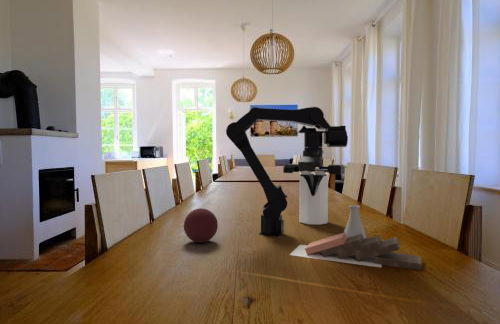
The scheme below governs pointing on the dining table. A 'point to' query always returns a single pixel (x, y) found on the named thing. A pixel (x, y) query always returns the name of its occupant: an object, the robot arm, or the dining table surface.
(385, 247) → the domino
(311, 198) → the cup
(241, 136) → the robot arm
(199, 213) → the decorative ball
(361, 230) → the flask
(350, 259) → the runner
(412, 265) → the domino
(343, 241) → the domino
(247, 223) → the dining table surface
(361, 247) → the domino
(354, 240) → the domino
